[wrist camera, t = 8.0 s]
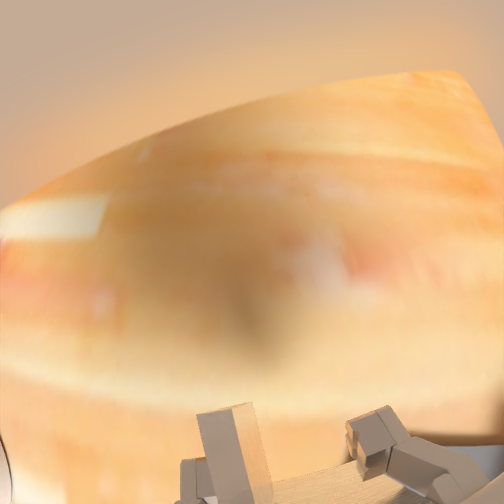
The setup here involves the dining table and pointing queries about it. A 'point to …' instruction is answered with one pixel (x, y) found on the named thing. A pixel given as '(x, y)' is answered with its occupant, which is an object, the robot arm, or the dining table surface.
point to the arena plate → (478, 459)
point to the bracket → (286, 491)
